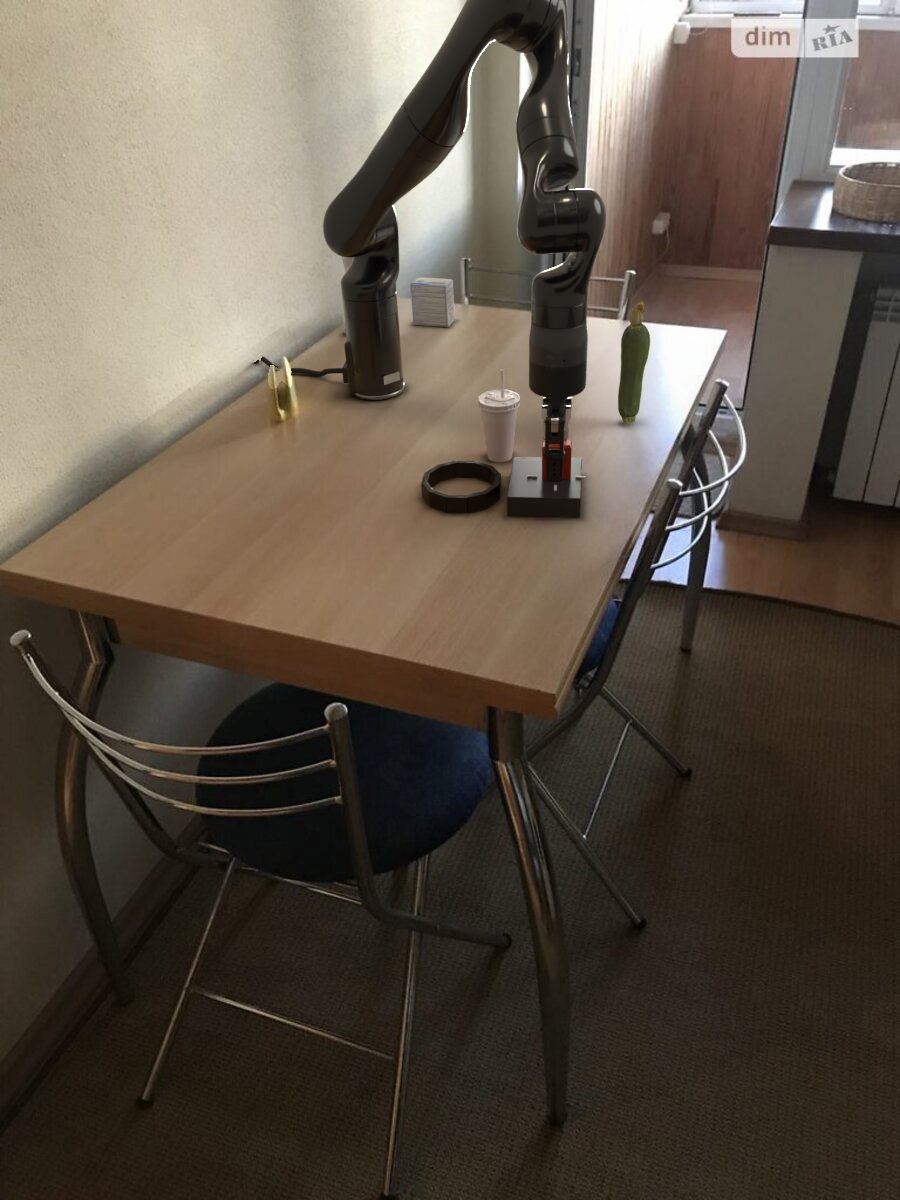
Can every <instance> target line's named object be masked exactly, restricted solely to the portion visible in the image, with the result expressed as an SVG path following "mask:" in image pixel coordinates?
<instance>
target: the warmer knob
mask: <svg viewBox="0 0 900 1200" xmlns="http://www.w3.org/2000/svg"><path fill="white" fill-rule="evenodd" d="M572 443H573V442H572V441H571V440H566V441H565V442H564V451H565V456H564V458H563V474H562V480H570V479H571V458H572V450H573V449H572V447H573V446H572V445H573V444H572ZM541 445H542V446H541V458H542V479H546V459H545V457H544V452H545V441H542V444H541ZM549 449H560V445H559V444H550V445H549Z"/></svg>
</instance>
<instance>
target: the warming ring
mask: <svg viewBox="0 0 900 1200" xmlns="http://www.w3.org/2000/svg"><path fill="white" fill-rule="evenodd" d="M457 478H458V479H476V480H479V481H483V482H486V483H489V485H490V486H488V487H487V488H486V489H484V490H481V491H477V492H474V493H470V494H447V493H444V492H442V491H438V490H435V489H433V488H434V487H435V486H437V485H438V484H440V483H441V482H445V481H450V480H454V479H457ZM420 484H421V485H420V486H421V494H422V496H421V497H422V499H423V501H424V502H425V503H426V504H427V505H428V507H430V508H431V509H435V510H437V511H440V512H444V513H446V514H471V513H475V512H479V511H483V510H487V509H489V508H490V507H492V506H493V505H494V504H495V503H497V502H499V501H500V500H501V496H502V490H503V489H502V485H503V484H502V473H501V472H500V471H499V470H497V468H496V467H495V466H494V465H491V464H488V463H485V462H481V461H478V460H457V459H456V460H451V461H448V462H443V463H439V464H436V465H434V466H433V467H431V468H430V469H428V470H427V471H425V472H424V473H423V476H422V480H421V483H420Z"/></svg>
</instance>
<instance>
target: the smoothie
mask: <svg viewBox="0 0 900 1200" xmlns="http://www.w3.org/2000/svg"><path fill="white" fill-rule="evenodd" d="M499 371H500V374H499V375H500V377H499V378H500V380H499V381H500V389H492V390H491V389H490V390H487V391H485V392H483V393H481V394H480V395H479V396H478V397H477V407H478V408H479V409H480V416H481V422H482V428H483V434H484V440H485V447H486V453H487V454H486V455H487V458H488V460H489V461H490V462H494V463H505V462H508V461H511V459H512V458H513V451H514V444H515V436H516V435H515V434H516V427H517V421H518V420H517V419H518V412H519V408H520V406H521V396H520V394H519V393H517V392H515V391H513V390H509V389H505V369H503V368H502V369H501V368H500V370H499Z"/></svg>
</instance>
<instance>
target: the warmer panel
mask: <svg viewBox="0 0 900 1200" xmlns="http://www.w3.org/2000/svg"><path fill="white" fill-rule="evenodd" d="M512 458H513V459H512V464H511V470H510V474H509V475H510V476H509V480H508V481H509V482H508V488H507V493H506V516H508V517H541V518H542V517H544V518H548V517H549V518H581V503H582V502H581V501H582V479H586V478H587V476H586V475H583V473H582V472H583V458H582V457H571V479H570V480H562V481H561V482H548V481H547V480H546V479H542V457H536V456H535V457H531V456H529V457H528V456H525V457H524V456H514V457H512Z"/></svg>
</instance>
